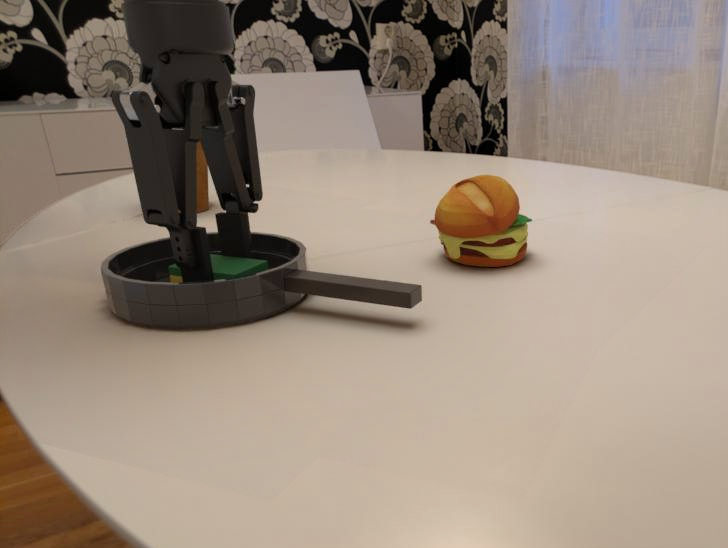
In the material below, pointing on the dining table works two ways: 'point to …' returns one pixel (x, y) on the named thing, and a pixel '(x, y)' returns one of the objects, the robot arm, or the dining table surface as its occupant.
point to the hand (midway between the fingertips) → (221, 292)
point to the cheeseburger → (482, 223)
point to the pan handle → (353, 288)
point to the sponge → (225, 268)
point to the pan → (200, 285)
